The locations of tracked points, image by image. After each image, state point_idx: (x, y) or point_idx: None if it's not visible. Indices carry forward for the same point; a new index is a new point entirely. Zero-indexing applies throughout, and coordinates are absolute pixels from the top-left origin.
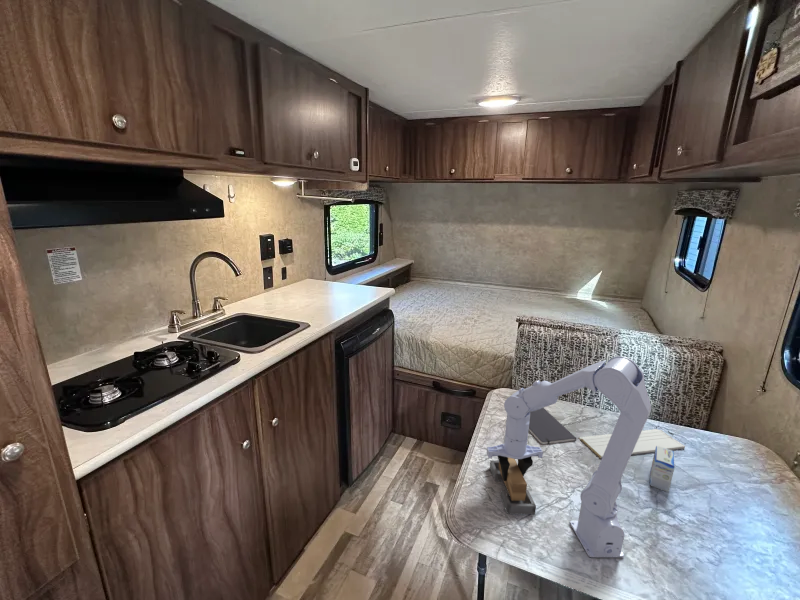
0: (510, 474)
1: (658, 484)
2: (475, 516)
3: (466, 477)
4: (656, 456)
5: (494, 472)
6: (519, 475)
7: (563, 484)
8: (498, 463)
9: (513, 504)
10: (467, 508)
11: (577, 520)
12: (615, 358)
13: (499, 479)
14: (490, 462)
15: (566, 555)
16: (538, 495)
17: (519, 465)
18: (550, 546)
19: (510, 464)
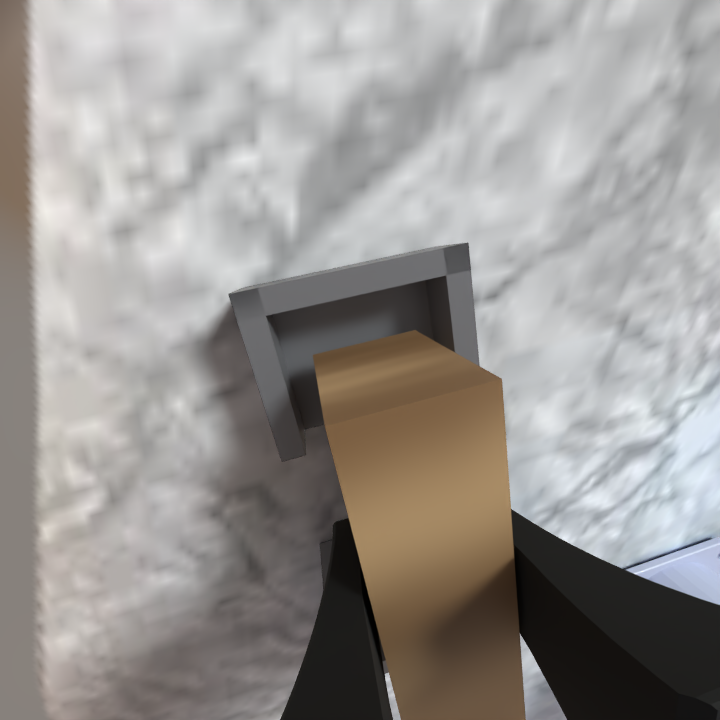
0: (411, 708)
1: None
2: (181, 692)
3: (56, 449)
4: None
5: (274, 431)
6: (493, 686)
7: (692, 345)
8: (314, 303)
9: (384, 665)
10: (126, 669)
11: (642, 571)
12: None
13: (317, 424)
14: (234, 301)
15: (531, 696)
16: (529, 466)
17: (537, 610)
18: None
19: (438, 585)
